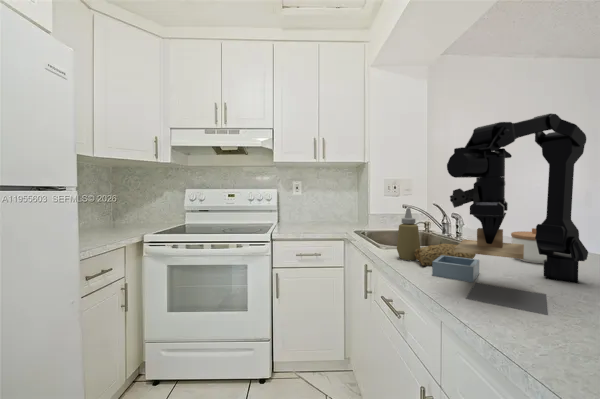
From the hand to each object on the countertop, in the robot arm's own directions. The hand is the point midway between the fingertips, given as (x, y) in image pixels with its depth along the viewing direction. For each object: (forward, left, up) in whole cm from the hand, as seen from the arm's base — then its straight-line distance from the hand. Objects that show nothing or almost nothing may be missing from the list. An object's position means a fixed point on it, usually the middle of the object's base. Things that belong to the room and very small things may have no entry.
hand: (489, 242), depth 71 cm
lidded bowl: (-8, -43, -12) cm, 46 cm away
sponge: (+14, -23, -12) cm, 29 cm away
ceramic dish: (+9, -8, -12) cm, 17 cm away
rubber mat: (-4, +4, -12) cm, 13 cm away
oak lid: (0, 0, -2) cm, 2 cm away
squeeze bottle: (+27, -22, -12) cm, 36 cm away
